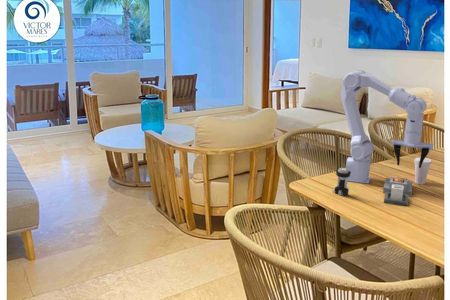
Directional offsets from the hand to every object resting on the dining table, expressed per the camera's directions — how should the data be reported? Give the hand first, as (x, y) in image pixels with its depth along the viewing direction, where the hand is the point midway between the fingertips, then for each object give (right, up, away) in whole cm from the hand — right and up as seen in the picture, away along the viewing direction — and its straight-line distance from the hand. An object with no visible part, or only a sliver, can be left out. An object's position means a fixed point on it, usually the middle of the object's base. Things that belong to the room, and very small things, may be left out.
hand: (408, 165), depth 180 cm
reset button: (-4, -8, +1) cm, 9 cm away
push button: (-27, -11, -1) cm, 29 cm away
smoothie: (+9, -7, +11) cm, 16 cm away
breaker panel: (-3, -9, +3) cm, 10 cm away
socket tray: (-7, -12, -7) cm, 16 cm away
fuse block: (-8, -12, -8) cm, 16 cm away
